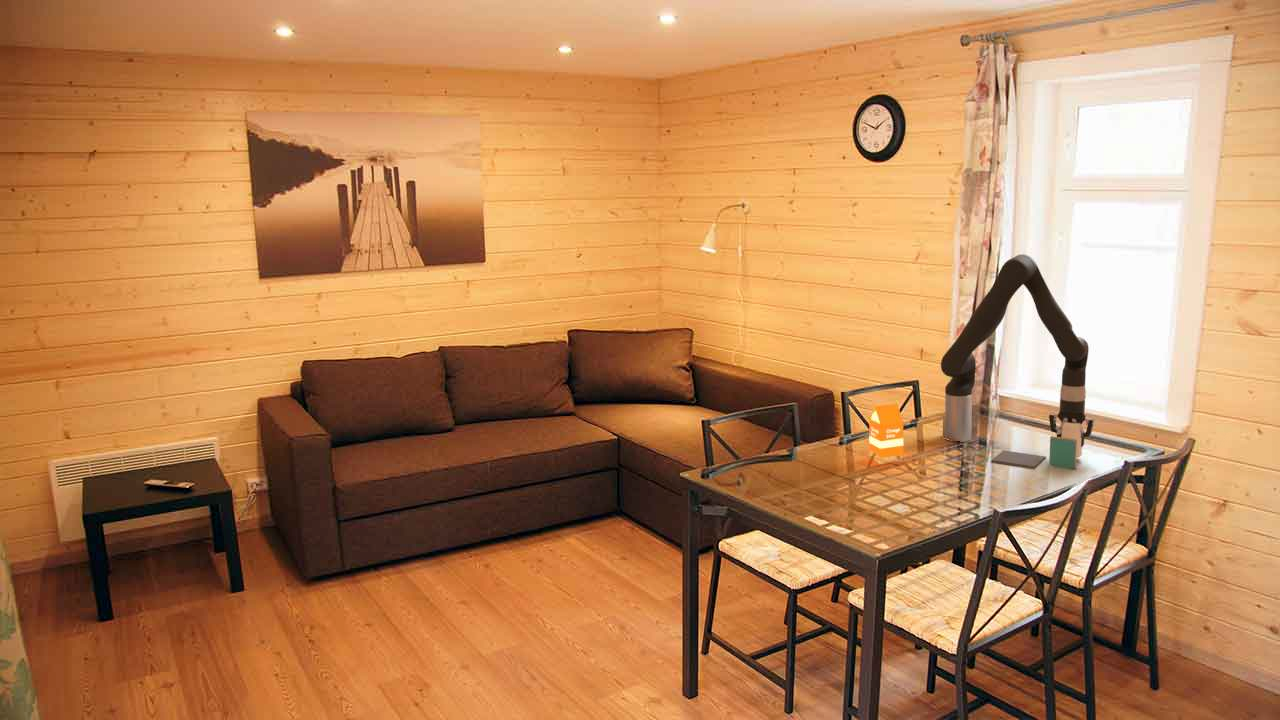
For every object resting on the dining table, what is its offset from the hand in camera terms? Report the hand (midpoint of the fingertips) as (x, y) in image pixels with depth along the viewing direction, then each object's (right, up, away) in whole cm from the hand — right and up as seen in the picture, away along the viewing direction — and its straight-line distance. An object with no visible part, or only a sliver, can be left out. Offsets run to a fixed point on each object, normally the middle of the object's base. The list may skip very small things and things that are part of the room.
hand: (1070, 445), depth 303 cm
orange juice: (-59, -6, +11) cm, 60 cm away
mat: (-16, -5, +3) cm, 17 cm away
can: (+1, -3, +1) cm, 3 cm away
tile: (-5, -6, -6) cm, 10 cm away
